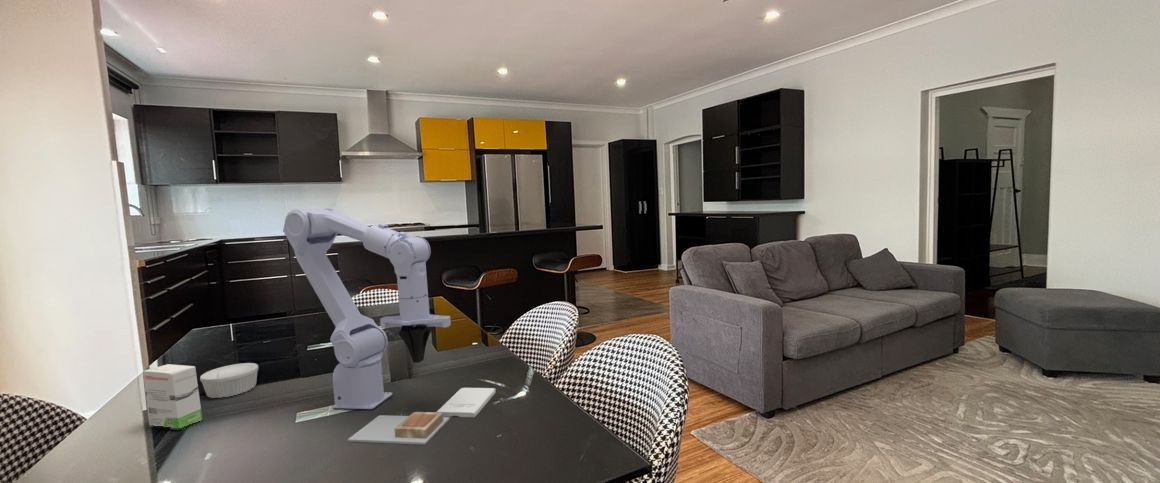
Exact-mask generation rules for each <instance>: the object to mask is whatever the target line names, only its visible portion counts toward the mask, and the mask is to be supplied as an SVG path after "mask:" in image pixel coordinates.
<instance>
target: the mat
mask: <svg viewBox="0 0 1160 483" xmlns="http://www.w3.org/2000/svg"><path fill="white" fill-rule="evenodd" d="M409 416H410V415H385V414H384V415H382V414H380V415H378V416H376V417H375V418H374V419H372V420H371V421H370V422H369V423H367V424H366V425H365V426H364V427H362V428H361V429H359V430H357V432H356V433H354V434H353V435H351V436H350V437H349V438H347V443H349V442H350V443H352V442H353V443H373V444H376V443H377V444H396V445H397V444H400V445H423V446H426V444H428V442H430V440H431V439H433V437H434V436H435V435H436V434H437V433H438V432H440V430H441V429H442V428H443V427H444V426H445V425H446V424H447V423H448V422H449V421H450V418H451V417H446V416H443V419H444V421H443V422H442V423H441V424H440V425H439V426H438V427H437V428H436V429H435V430H434V431H433V432H432V433H431V434H430V435H429V436H428V437H427V438H404V437H395V428H396V427H397V426H398V425H399V424H401V423H402V422H403V421H404V420H405V419H406V418H408V417H409Z"/></svg>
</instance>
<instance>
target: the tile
mask: <svg viewBox="0 0 1160 483" xmlns="http://www.w3.org/2000/svg"><path fill="white" fill-rule="evenodd" d="M436 412H437V411H436ZM436 412H433V411H431V412H430V411H429V412H427V411H426V412H425V411H413V412H412V413H411V414H410V415H408V416H409V417H408V418H406V419H405V420H404V421H403V422H402V423H401V424H399V425H398V426H397V427H396V428H395V437H404V438H427V437H428V436H429V435H430V434H431V433H432V432H433V431H434V430H435V429H436V428H437V427H438V426H439V425H440V424H441V423H442V422H443V421H444V419H443V417H444V416H443V413H436Z"/></svg>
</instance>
